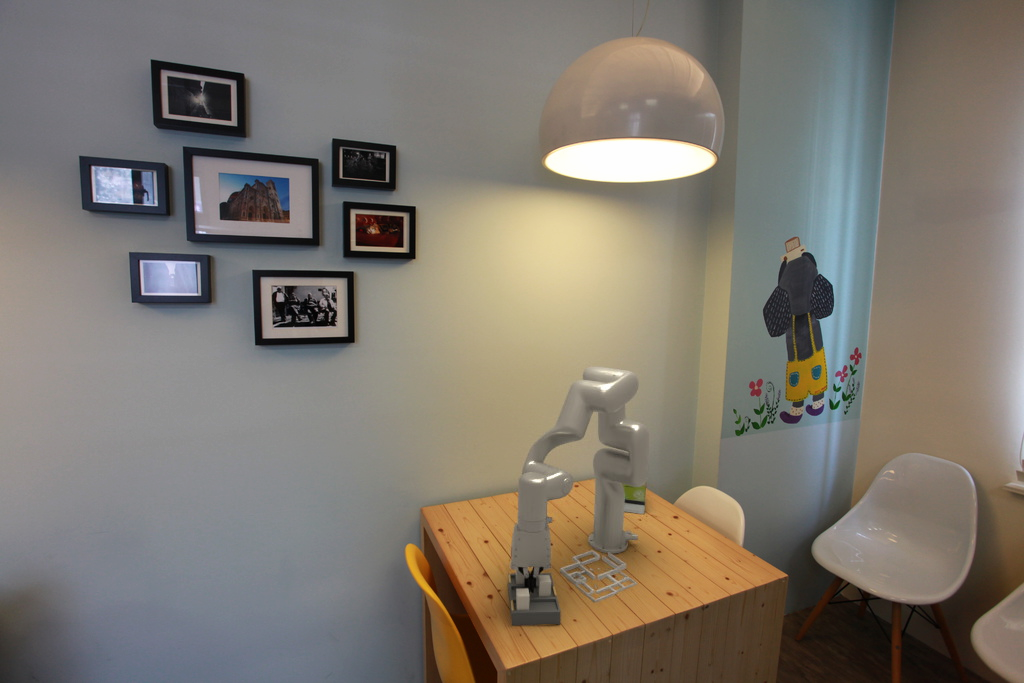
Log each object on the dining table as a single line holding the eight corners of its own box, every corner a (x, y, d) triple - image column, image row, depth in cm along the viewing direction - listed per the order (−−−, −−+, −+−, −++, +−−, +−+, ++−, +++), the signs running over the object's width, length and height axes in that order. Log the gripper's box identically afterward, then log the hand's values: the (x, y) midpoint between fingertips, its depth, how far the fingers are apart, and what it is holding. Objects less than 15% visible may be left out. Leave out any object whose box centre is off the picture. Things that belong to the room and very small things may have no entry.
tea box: (604, 510, 175) (605, 472, 174) (604, 499, 185) (606, 463, 184) (644, 515, 172) (646, 476, 171) (643, 503, 182) (645, 467, 180)
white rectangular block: (526, 577, 126) (526, 563, 126) (527, 583, 124) (527, 569, 123) (515, 577, 126) (515, 563, 126) (516, 584, 123) (516, 569, 123)
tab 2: (527, 603, 116) (528, 588, 115) (529, 611, 113) (529, 596, 112) (515, 603, 115) (516, 588, 115) (516, 611, 112) (517, 596, 112)
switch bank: (550, 584, 128) (551, 572, 128) (560, 624, 112) (560, 610, 112) (507, 584, 127) (508, 572, 127) (511, 625, 112) (511, 611, 111)
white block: (549, 589, 121) (549, 575, 121) (550, 596, 118) (551, 581, 118) (537, 589, 121) (538, 575, 121) (539, 596, 118) (539, 582, 118)
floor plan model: (587, 543, 152) (587, 537, 152) (645, 583, 130) (645, 577, 130) (541, 558, 142) (541, 552, 142) (595, 605, 121) (595, 597, 121)
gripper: (558, 515, 122) (556, 580, 124) (502, 515, 121) (500, 581, 123) (563, 529, 115) (560, 598, 116) (503, 529, 114) (501, 599, 115)
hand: (530, 589), depth 119 cm, fingers closed
